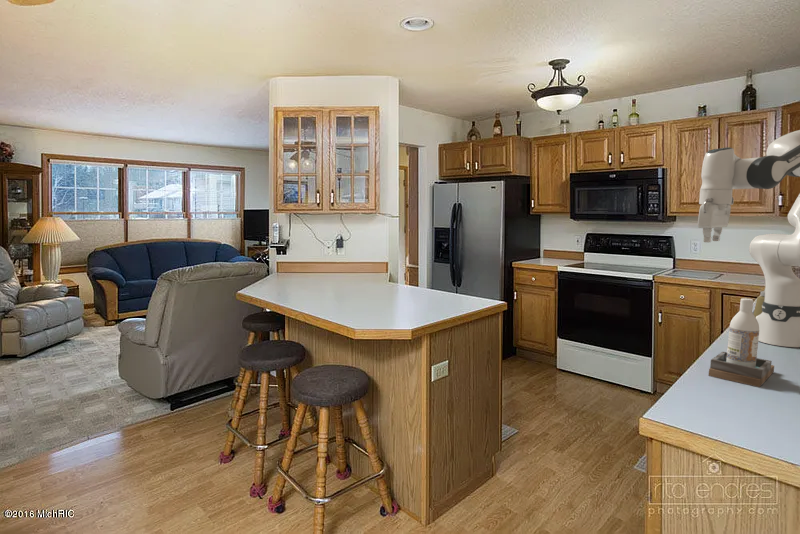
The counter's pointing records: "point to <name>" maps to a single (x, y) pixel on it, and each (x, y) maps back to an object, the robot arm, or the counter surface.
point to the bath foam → (743, 336)
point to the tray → (741, 370)
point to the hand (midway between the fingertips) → (711, 241)
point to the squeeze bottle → (759, 304)
